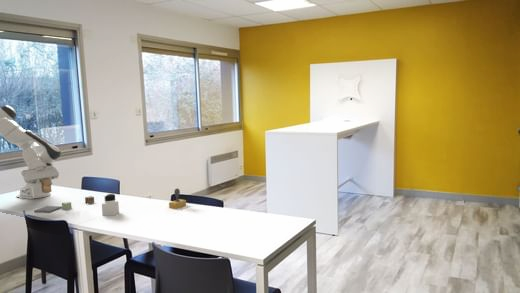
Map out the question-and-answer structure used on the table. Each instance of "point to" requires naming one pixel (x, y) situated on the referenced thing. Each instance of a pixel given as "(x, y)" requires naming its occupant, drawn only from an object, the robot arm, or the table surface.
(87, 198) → the walnut cube
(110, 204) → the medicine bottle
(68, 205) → the sage cube
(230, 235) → the table surface
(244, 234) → the table surface
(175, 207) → the rubber stamp
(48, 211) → the grey mat
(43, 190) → the oak block
